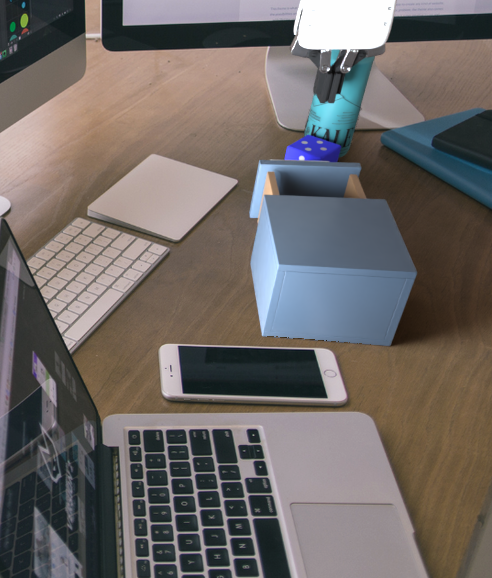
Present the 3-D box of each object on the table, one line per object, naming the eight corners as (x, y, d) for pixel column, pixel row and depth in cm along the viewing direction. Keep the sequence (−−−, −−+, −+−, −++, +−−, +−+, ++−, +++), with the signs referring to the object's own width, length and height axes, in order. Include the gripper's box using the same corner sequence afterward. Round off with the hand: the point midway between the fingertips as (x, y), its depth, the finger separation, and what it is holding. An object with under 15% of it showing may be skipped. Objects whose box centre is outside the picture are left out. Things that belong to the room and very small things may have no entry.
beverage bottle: (322, 143, 115) (356, 7, 103) (358, 161, 110) (398, 21, 98) (288, 154, 113) (318, 17, 101) (322, 173, 108) (358, 32, 96)
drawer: (245, 193, 104) (255, 141, 100) (337, 197, 102) (351, 143, 97) (258, 269, 91) (270, 213, 86) (364, 276, 89) (382, 218, 84)
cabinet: (250, 262, 94) (264, 194, 88) (363, 269, 91) (385, 199, 85) (261, 336, 83) (278, 264, 77) (390, 346, 81) (417, 272, 75)
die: (313, 191, 105) (321, 158, 102) (279, 178, 108) (286, 146, 105) (333, 177, 107) (342, 145, 104) (300, 165, 111) (307, 133, 108)
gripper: (423, -63, 90) (381, 87, 101) (286, -59, 93) (259, 86, 104) (443, -45, 84) (396, 112, 95) (296, -41, 87) (267, 111, 98)
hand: (324, 98), depth 100 cm, fingers closed
